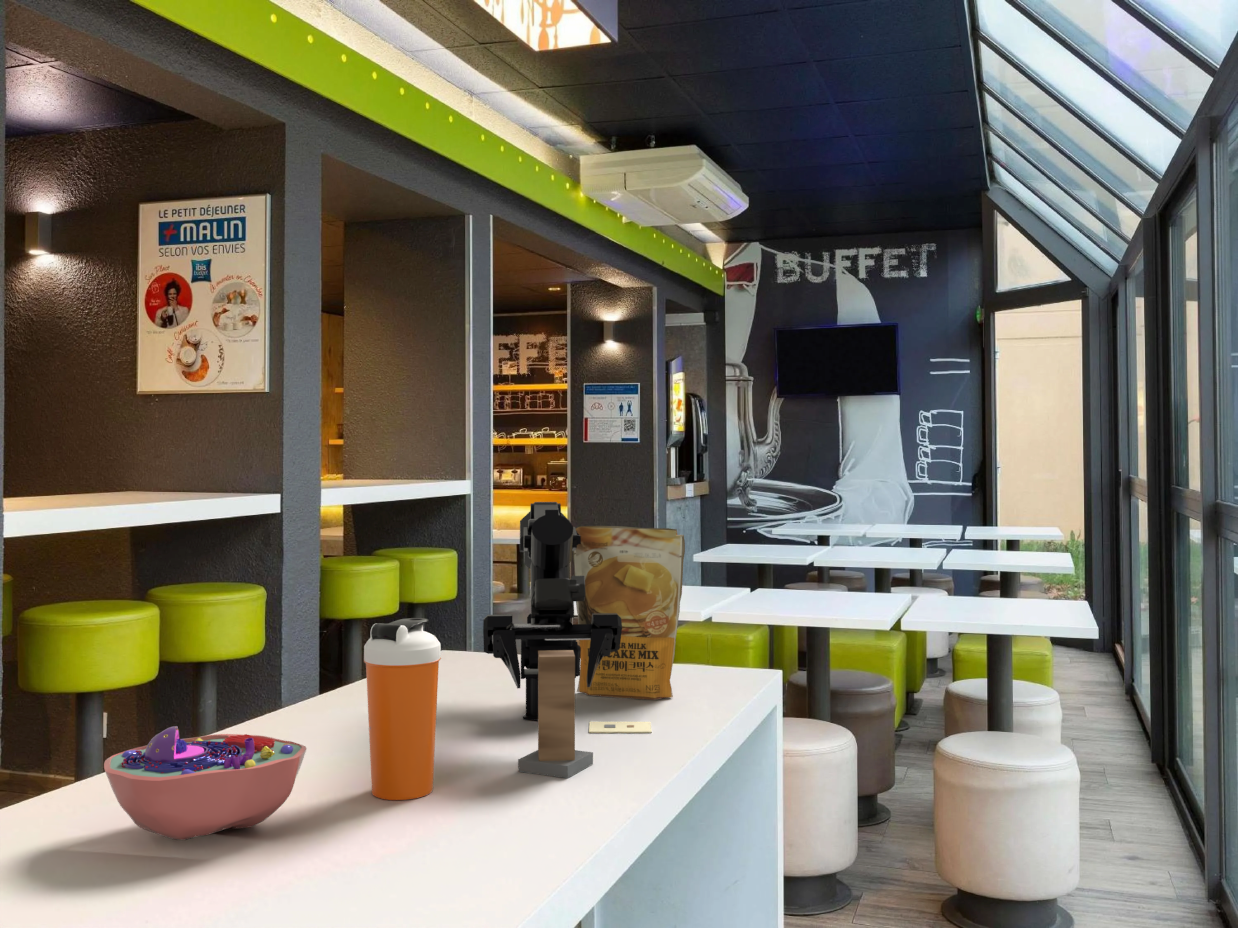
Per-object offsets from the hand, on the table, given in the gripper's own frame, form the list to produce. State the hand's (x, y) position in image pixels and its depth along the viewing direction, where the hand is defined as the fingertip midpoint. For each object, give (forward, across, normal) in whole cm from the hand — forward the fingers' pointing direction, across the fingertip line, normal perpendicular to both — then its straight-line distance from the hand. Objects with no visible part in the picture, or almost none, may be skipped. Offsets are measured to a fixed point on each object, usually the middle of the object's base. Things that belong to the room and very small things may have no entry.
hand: (554, 685), depth 145 cm
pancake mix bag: (-20, +14, +34) cm, 41 cm away
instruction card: (-4, +10, +17) cm, 20 cm away
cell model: (+25, -37, -12) cm, 46 cm away
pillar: (+9, 0, +2) cm, 9 cm away
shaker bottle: (+16, -18, -3) cm, 25 cm away
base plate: (+10, 0, +3) cm, 11 cm away
